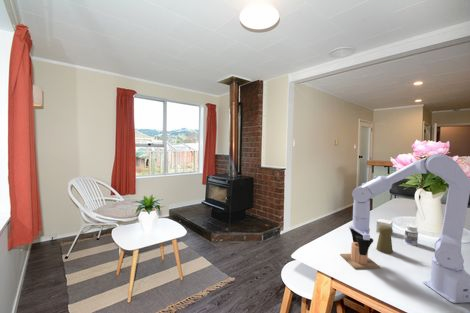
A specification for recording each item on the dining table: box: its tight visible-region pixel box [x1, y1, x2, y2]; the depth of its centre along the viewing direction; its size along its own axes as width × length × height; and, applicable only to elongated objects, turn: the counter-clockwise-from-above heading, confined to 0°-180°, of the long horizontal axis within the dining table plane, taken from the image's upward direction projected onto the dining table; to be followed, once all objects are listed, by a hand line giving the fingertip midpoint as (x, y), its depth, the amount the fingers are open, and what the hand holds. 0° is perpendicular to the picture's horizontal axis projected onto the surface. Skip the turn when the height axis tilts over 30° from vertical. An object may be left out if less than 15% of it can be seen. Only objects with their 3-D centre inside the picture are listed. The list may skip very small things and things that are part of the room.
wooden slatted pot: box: [350, 241, 369, 264], centre depth 86 cm, size 6×6×6 cm
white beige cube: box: [375, 218, 394, 234], centre depth 115 cm, size 6×6×6 cm
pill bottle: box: [404, 223, 419, 246], centre depth 102 cm, size 5×5×8 cm
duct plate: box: [339, 253, 381, 270], centre depth 86 cm, size 10×10×4 cm
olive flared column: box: [375, 225, 394, 255], centre depth 95 cm, size 6×6×11 cm
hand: (359, 249), depth 86 cm, fingers open, 7 cm apart
